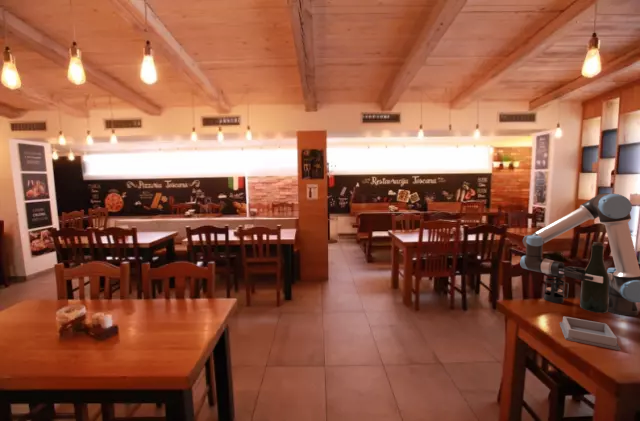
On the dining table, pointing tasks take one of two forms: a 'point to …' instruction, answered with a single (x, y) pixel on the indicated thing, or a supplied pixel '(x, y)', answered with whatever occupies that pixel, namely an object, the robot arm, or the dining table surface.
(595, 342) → the bottle stand
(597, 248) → the beer bottle
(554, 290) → the french press
